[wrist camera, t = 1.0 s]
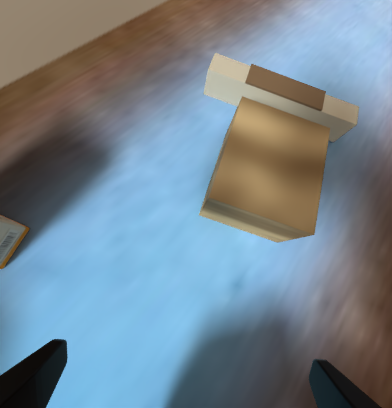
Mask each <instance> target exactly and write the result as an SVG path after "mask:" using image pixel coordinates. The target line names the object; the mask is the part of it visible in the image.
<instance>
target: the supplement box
mask: <svg viewBox="0 0 392 408" xmlns="http://www.w3.org/2000/svg"><path fill="white" fill-rule="evenodd" d="M29 229H30V228H28V227H27V226H25V225H23V224H20V223H18V222H16V221H13V220H11V219H9V218H6V217H4V216H2V215H0V269H3V268H4V266H5V265H6V263H7V262H8V260H9V259H10V257H11V256H12V255H13V253H14V251H15V250H16V249H17V247H18V245H19V244H20V243H21V241H22V240H23V238H24V237H25V235H26V234H27V232H28V231H29Z"/></svg>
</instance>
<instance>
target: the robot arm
mask: <svg viewBox="0 0 392 408" xmlns="http://www.w3.org/2000/svg"><path fill="white" fill-rule="evenodd" d="M66 363H67V342H66V340H63V339H54V340H52V341H50V342H49V343H47V344H46V345H44V346H43V347H41V348H40V349H38V350H37V351H35V352H34V353H32V354H31V355H30V356H28V357H27V358H25V359H24V360H22V361H21V362H19V363H18V364H16V365H15V366H14V367H12V368H11V369H9V370H8V371H6V372H5V373H3V374H2V375H0V408H46V406H47V404H48V402H49V400H50V398H51V396H52V394H53V391H54V389H55V387H56V385H57V383H58V381H59V379H60V377H61V374H62V372H63V370H64V368H65V366H66ZM309 382H310V386H311V389H312V392H313V395H314V398H315V401H316V404H317V407H318V408H381V407H380V406H379V405H378V404H377V403H375V402H374V401H373V400H372V399H371V398H370V397H369V396H367V395H366V394H365V393H364V392H363V391H362V390H360V389H359V388H358V387H357V386H356V385H355V384H354V383H352V382H351V381H350V380H349V379H348V378H347V377H345V376H344V375H343V374H342V373H341V372H340V371H339V370H337V369H336V368H335V367H334V366H333V365H332V364H330V363H329V362H328V361H327V360H323V359H314V360H313V363H312V367H311V371H310V375H309Z"/></svg>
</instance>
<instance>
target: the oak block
mask: <svg viewBox="0 0 392 408" xmlns="http://www.w3.org/2000/svg"><path fill="white" fill-rule="evenodd" d="M329 133H330V128H328V127H326V126H323V125H320V124H317V123H315V122H312V121H309V120H306V119H304V118H301V117H298V116H295V115H293V114H290V113H287V112H284V111H281V110H279V109H276V108H273V107H270V106H268V105H265V104H262V103H259V102H257V101H254V100H251V99H248V98H246V97H243V96H242V98H241V100H240V102H239V105H238V107H237V109H236V112H235V114H234V116H233V119H232V121H231V124H230V126H229V128H228V131H227V133H226V136H225V138H224V141H223V144H222V147H221V150H220V153H219V156H218V159H217V162H216V165H215V168H214V171H213V174H212V177H211V180H210V183H209V186H208V189H207V192H206V195H205V198H204V201H203V204H202V207H201V210H200V213H199V215H200V216H203V217H206V218H209V219H211V220H214V221H217V222H220V223H223V224H226V225H229V226H231V227H234V228H237V229H240V230H243V231H246V232H249V233H251V234H254V235H257V236H260V237H263V238H266V239H269V240H271V241H274V242H277V243H278V242H283V241H287V240H292V239H297V238H301V237H306V236H311V235H314V233H315V227H316V220H317V213H318V207H319V200H320V193H321V187H322V180H323V173H324V167H325V160H326V153H327V147H328V140H329Z"/></svg>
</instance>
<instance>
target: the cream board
mask: <svg viewBox="0 0 392 408" xmlns="http://www.w3.org/2000/svg"><path fill="white" fill-rule="evenodd" d="M325 93H326V91H323V90H320V89H318V88H315V87H312V86H310V85H307V84H304V83H302V82H299V81H296V80H294V79H291V78H288V77H286V76H283V75H280V74H278V73H275V72H272V71H270V70H267V69H264V68H262V67H259V66H256V65H254V64H251V66H249V65H246V64H244V63H241V62H238V61H236V60H233V59H230V58H228V57H225V56H222V55H220V54H217V53H215V55H214V57H213V59H212V62H211V64H210V66H209V69H208V73H207V78H206V84H205V89H204V94H205V95H207V96H210V97H213V98H215V99H218V100H221V101H223V102H226V103H229V104H232V105H234V106H237V107H238V105H239V102H240V100H241V98H242V96H243V97H246V98H248V99H251V100H254V101H257V102H259V103H262V104H265V105H268V106H270V107H273V108H276V109H279V110H281V111H284V112H287V113H290V114H293V115H295V116H298V117H301V118H304V119H306V120H309V121H312V122H315V123H317V124H320V125H323V126H326V127H328V128H330V133H329V140H328V141H331V142H335V141H336V140H337V139H339V138H340V137H341V136H343V135H344V134H345V133H347V132H348V131H349V130H351V129H352V128H353V127H355V126H356V125H357V119H358V111H359V107H358V106H356V105H353V104H350V103H348V102H345V101H342V100H340V99H337V98H334V97H332V96H329V95H326V94H325Z"/></svg>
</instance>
